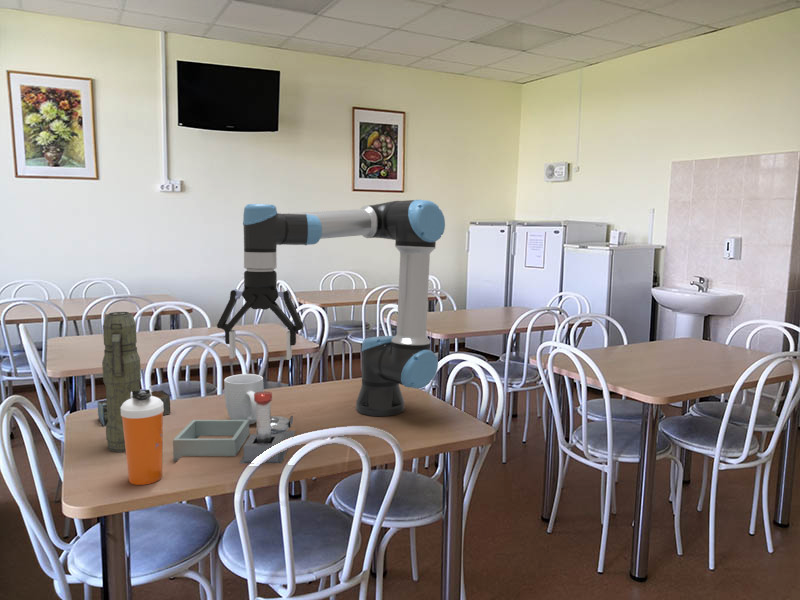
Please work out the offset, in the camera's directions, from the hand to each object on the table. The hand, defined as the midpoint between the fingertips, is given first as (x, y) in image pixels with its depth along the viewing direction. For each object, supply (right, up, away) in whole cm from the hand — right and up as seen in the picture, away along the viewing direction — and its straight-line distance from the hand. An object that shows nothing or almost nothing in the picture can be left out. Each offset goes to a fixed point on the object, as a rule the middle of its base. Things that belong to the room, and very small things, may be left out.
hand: (261, 358), depth 144 cm
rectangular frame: (-14, -25, +9) cm, 30 cm away
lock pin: (0, -24, +2) cm, 24 cm away
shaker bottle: (-24, -27, -8) cm, 37 cm away
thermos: (-38, -24, +12) cm, 46 cm away
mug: (-11, -22, +30) cm, 39 cm away
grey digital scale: (0, -25, +9) cm, 26 cm away
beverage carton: (-46, -21, +35) cm, 61 cm away
